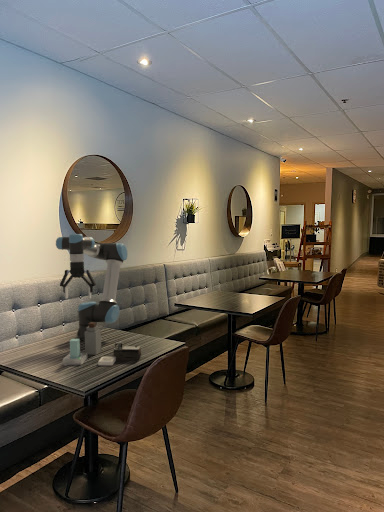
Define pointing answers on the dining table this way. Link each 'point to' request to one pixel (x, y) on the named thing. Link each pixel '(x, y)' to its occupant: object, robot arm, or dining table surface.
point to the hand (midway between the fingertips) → (78, 298)
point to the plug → (74, 348)
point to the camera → (126, 352)
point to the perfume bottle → (92, 339)
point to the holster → (107, 361)
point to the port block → (74, 360)
